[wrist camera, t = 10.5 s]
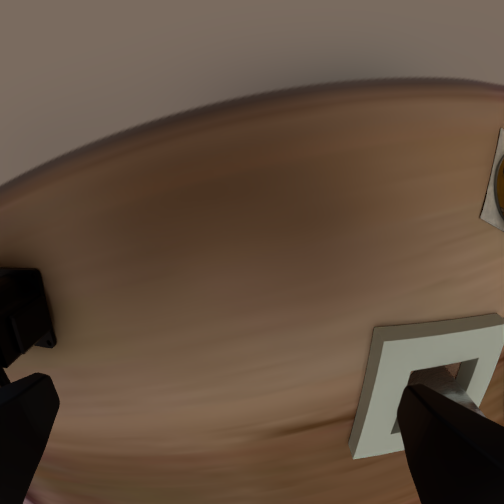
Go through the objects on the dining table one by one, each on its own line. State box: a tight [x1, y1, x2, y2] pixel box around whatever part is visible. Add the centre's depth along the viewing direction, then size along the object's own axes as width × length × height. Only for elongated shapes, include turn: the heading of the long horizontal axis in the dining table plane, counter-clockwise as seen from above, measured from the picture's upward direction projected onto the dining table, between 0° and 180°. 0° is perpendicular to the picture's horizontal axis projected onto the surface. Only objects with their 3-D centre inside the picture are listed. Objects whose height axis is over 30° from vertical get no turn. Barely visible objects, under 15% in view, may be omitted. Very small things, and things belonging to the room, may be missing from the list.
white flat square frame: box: [348, 313, 504, 459], centre depth 21 cm, size 12×12×2 cm
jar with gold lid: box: [407, 365, 485, 417], centre depth 16 cm, size 4×4×12 cm
